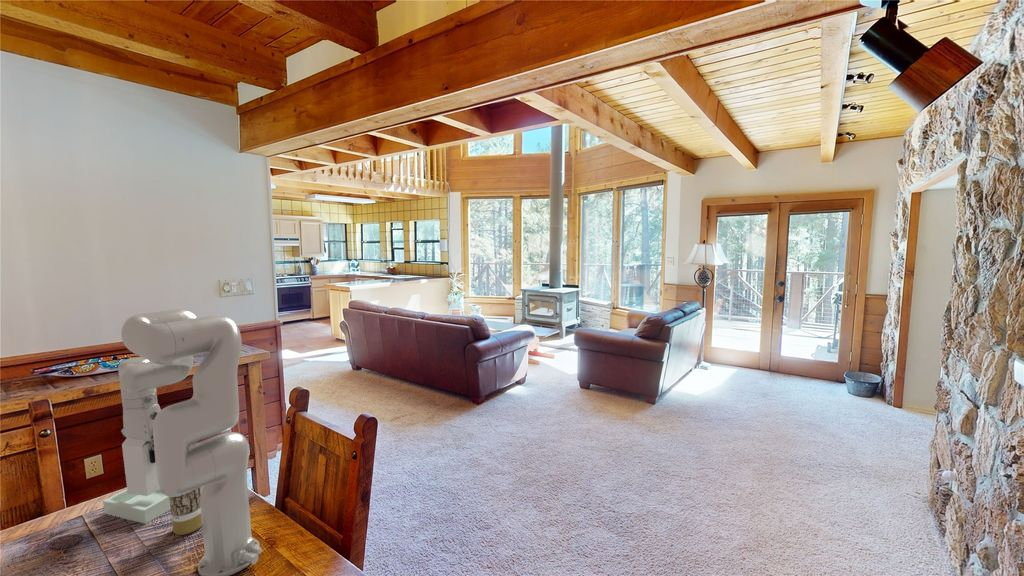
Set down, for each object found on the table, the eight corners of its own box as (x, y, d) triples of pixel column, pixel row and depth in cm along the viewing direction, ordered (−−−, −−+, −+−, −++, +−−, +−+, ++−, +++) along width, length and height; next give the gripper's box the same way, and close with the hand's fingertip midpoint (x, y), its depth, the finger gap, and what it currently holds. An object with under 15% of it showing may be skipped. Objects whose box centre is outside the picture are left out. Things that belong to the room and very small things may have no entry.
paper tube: (184, 538, 111) (175, 448, 108) (167, 533, 113) (157, 444, 110) (210, 522, 118) (202, 436, 114) (193, 517, 120) (184, 433, 117)
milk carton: (147, 496, 121) (140, 433, 119) (127, 493, 122) (119, 431, 120) (171, 482, 128) (165, 422, 126) (152, 479, 129) (145, 420, 127)
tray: (195, 494, 130) (194, 482, 130) (146, 523, 117) (144, 510, 116) (157, 486, 135) (155, 474, 134) (104, 513, 121) (103, 500, 121)
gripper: (176, 399, 123) (182, 456, 125) (132, 393, 128) (139, 448, 130) (148, 409, 116) (155, 470, 118) (103, 402, 121) (110, 461, 123)
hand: (146, 458), depth 124 cm, fingers closed on milk carton, 7 cm apart
